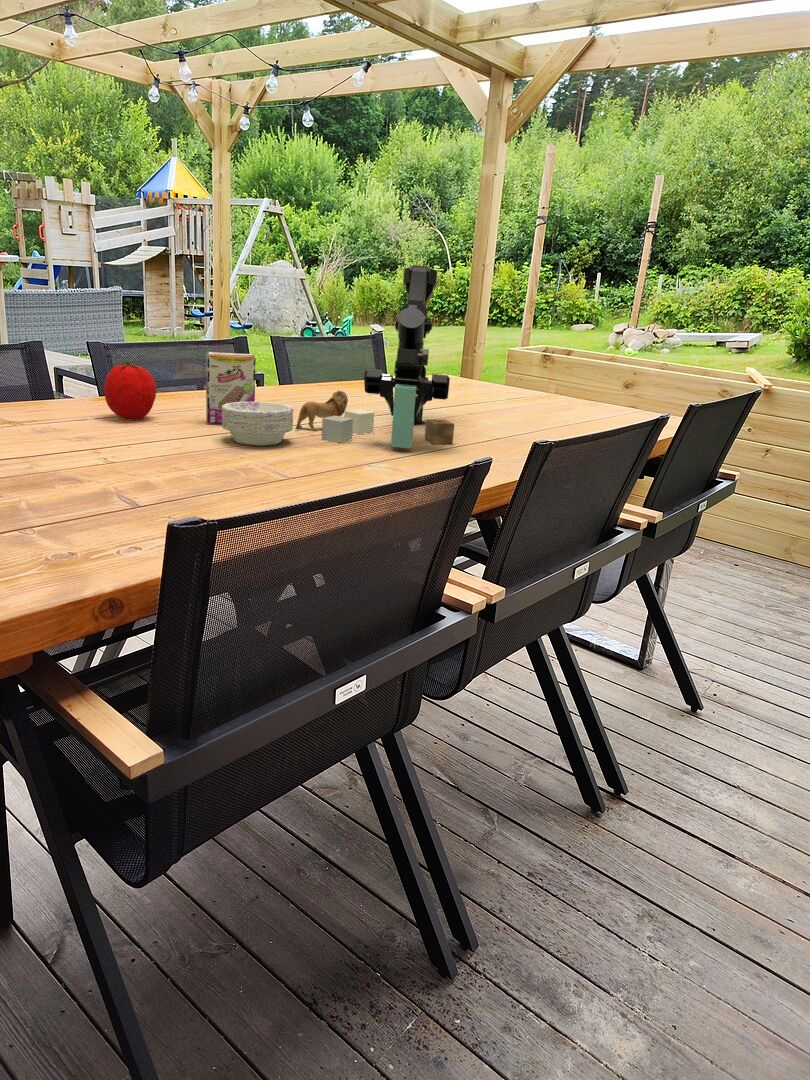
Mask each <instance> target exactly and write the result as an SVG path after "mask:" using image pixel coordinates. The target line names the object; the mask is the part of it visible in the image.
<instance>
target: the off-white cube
mask: <svg viewBox="0 0 810 1080" xmlns="http://www.w3.org/2000/svg"><path fill="white" fill-rule="evenodd" d="M344 417H346V418H351V419H353V428H352V434H353V433H356V434H355V435H357V434H361V435H365V434H364V433H368V434H372V433H371V432H373V433H374V425H375V412H373V411H368V410H365V409H361V408H359V409H358V408H357V409H350V410H345V412H344Z"/></svg>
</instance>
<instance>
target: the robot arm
mask: <svg viewBox="0 0 810 1080" xmlns="http://www.w3.org/2000/svg"><path fill="white" fill-rule="evenodd" d="M437 281H438V270H435V269H434V268H433V267H432V268H431V267H429V266H428V265H427V266H426V265H416V264H414V265H412V266H411V265H410V266H409V267H405V268H404V269H403V283H402V284H403V286H405V291H406V292H405V293H406V296H407V302H406V303H405V304H403V305H402V306H401V308H400V312H399V314H398V315H397V316H396V319H395V323H394V324H395V326H394V327H395V332H397V337H398V347H397V354H396V360H395V363H394V371H393V372H394V376H393V375H392V374H388V373H387V374H385V373H384V369H375V368H374V369H373V368H368V369H366V370H365V371H364V375H363V376H364V377H363V383H364V392H365V393H367V394H371V395H372V394H373V395H379V396H380V397H381V398H384V400H385V401H386V403H387V405H388V409H389V412H390V415H391V416H392V417H393V407H394V389H395V385H396V384H404V385H416V386H417V388H416V401H415V409H414V425H422V424H424V425H425V424H426V420H423V415H424V413H423V411H424V410H423V409H424V406H425V405H426V404H427V402H432V401H433V399H434V400H447V399H449V391H450V382H451V381H450V377H449V375H447V374H437V373H432V375H431V380H429V377H427V369H426V367H427V366H428V364H429V354H430V353H429V352H430V349H429V348H424V347H425V346H424V344H425V343H424V339H426V338H427V335H429V334H430V333H431V330H432V331H433V323H432V320H431V318H429V317H428V316H429V314H428V313H429V308H428V307H427V305H428V303H429V302H430V301H431V299H432V298H433V296H434V289H436V288H437ZM425 366H426V367H425Z"/></svg>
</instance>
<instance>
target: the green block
mask: <svg viewBox="0 0 810 1080" xmlns="http://www.w3.org/2000/svg"><path fill="white" fill-rule="evenodd" d="M416 388H417V386H416V385H404V384H396V385H395V388H394V391H393V397H394V407H393V416H392V424H391V438H390V439H391V440H390V441H391V443H390V447H392V448H394V447H395V448H405V449H412V447H413V437H414V428H415V427H414V426H415V424H414V409H415V401H416Z"/></svg>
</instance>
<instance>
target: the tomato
mask: <svg viewBox="0 0 810 1080" xmlns="http://www.w3.org/2000/svg"><path fill="white" fill-rule="evenodd" d="M140 363H142V361H141V362H136V363H131V364H130V361H126V363H125V364H124V363H119V364H116V365H114V366H113V367H112V368H111V369H110V370H109V372H108V373H107V375H106V378H105V380H104V384H103V387H104V388H103V390H104V392H103V393H104V398H105V402H106V405H107V406H108V408H109V409H110V411H111V412H113V413H114V414H115V415H116V416H117V417H119V418H122V419H125V420H129V419H130V420H131V421H137V420H141V419H144V418H145V417H146V416H147V415H148V414H149V413H150V411H151V410H152V408H153V406H154V403H155V400H156V396H157V391H158V390H157V386H156V381H155V379H154V377H153V376H152V374H151V372H150V371H148V370H147V369H145V368H143V367H141V366H140V365H139V364H140ZM136 419H137V420H136Z"/></svg>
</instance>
